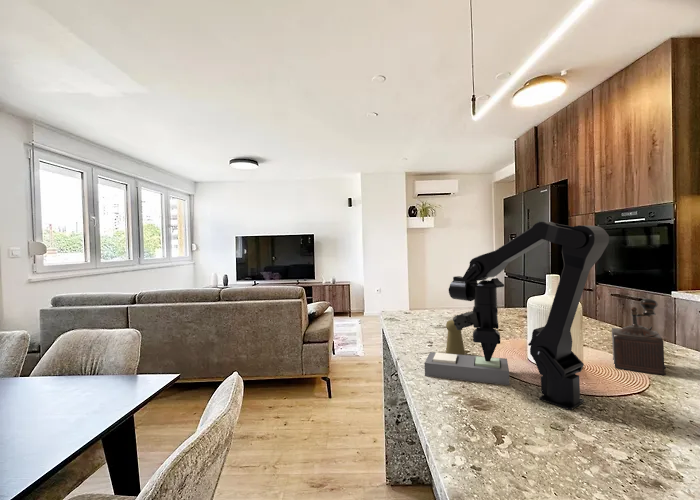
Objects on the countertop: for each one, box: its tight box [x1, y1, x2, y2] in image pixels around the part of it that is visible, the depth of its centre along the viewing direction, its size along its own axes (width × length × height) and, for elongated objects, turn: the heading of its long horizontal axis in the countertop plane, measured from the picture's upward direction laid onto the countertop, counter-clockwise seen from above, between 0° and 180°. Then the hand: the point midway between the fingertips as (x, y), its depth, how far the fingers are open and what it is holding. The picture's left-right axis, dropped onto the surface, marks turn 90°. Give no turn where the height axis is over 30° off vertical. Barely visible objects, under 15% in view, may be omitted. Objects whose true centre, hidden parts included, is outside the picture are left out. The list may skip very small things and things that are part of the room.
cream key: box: [433, 352, 457, 364], centre depth 93 cm, size 6×6×3 cm
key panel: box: [424, 351, 511, 386], centre depth 91 cm, size 21×10×4 cm, turn 67°
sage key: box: [475, 355, 500, 368], centre depth 89 cm, size 6×6×3 cm
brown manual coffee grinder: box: [611, 298, 667, 376], centre depth 94 cm, size 16×11×18 cm
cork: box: [445, 319, 466, 355], centre depth 108 cm, size 6×6×11 cm
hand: (487, 360), depth 89 cm, fingers closed, pressing on sage key
